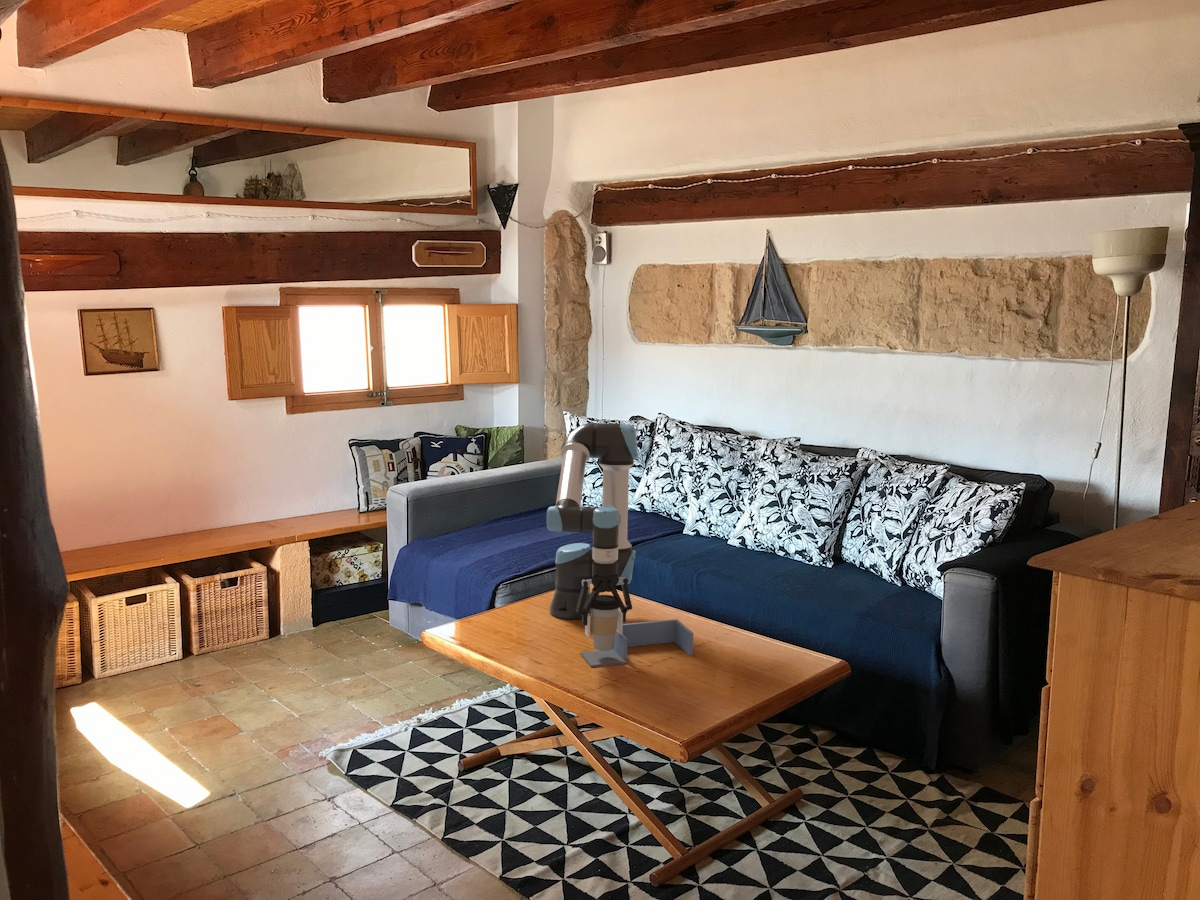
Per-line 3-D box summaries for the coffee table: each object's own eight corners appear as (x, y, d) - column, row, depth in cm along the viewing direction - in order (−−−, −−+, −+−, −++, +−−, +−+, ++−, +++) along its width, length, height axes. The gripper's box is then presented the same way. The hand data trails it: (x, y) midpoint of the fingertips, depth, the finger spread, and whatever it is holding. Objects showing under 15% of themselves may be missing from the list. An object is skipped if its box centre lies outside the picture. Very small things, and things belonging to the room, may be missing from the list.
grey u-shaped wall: (609, 647, 305) (610, 625, 304) (676, 640, 311) (677, 619, 310) (623, 662, 292) (624, 639, 291) (692, 655, 299) (693, 632, 298)
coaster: (580, 654, 298) (580, 652, 298) (615, 650, 301) (615, 648, 301) (591, 667, 288) (591, 665, 288) (626, 663, 291) (626, 661, 291)
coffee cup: (620, 642, 298) (621, 594, 296) (618, 653, 289) (619, 604, 287) (589, 641, 299) (590, 593, 297) (585, 652, 290) (586, 602, 287)
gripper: (572, 566, 283) (571, 641, 287) (645, 561, 290) (643, 635, 293) (565, 559, 290) (564, 633, 294) (636, 555, 297) (634, 627, 300)
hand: (603, 634), depth 293 cm, fingers closed on coffee cup, 9 cm apart
